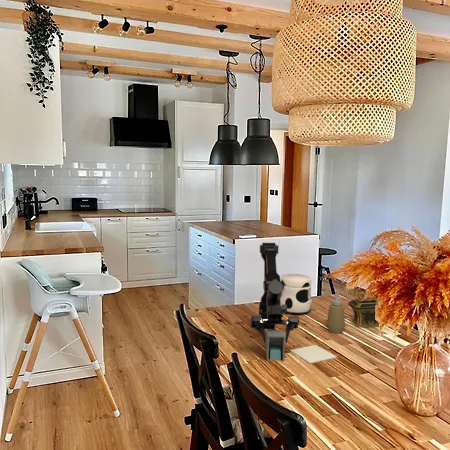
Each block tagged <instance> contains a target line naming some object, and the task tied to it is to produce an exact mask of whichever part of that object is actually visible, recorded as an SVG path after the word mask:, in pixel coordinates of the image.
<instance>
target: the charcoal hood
mask: <svg viewBox="0 0 450 450" xmlns="http://www.w3.org/2000/svg"><path fill="white" fill-rule="evenodd" d="M265 331H266V332H265V338H266V343H265V357H266V358H265V359H266V361H267V362H269V361H270V357H269V346H280V349H281V359H282V362H285V353H286V352H285V345H286V342H285V336H286V334H285V333H284V330H283V329H265Z"/></svg>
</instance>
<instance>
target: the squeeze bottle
mask: <svg viewBox="0 0 450 450" xmlns="http://www.w3.org/2000/svg"><path fill="white" fill-rule="evenodd" d="M345 318H346V316H345V305H343V300H341V298H340V293H339V292H335V296H334V299H332V300H331V304H330V305H329V307H328V314H327V319H326V320H327V321H326V325H327V327H328V328H327V329H328V331H329V332H330V333H333V334H341V333H343V331H344V328H345V326H346V319H345Z"/></svg>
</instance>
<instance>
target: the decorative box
mask: <svg viewBox="0 0 450 450" xmlns="http://www.w3.org/2000/svg"><path fill="white" fill-rule="evenodd" d="M358 291H359V290H358V289H357V287H356V288H355V287H354V289H353V290H346V291H345V293H347V294H348V295H350V296H351V297H354V298H355V299H352V300H349V301H348V306H349V307H350V309H352V311H353V318H352V320H351V321H350V322H351V323H352V324H353V325H354V326H355V325H356V326H355V327H357V328H359V327H363V328H380V327H379V323H378V322H377V321H376V320H375V305H376V301H375V300H373V299H364V296H365V294H366V293H365V292H364V291H359V292H358Z"/></svg>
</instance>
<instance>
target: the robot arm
mask: <svg viewBox="0 0 450 450" xmlns="http://www.w3.org/2000/svg"><path fill="white" fill-rule="evenodd" d="M259 254H260V257H261V259H263V263H264V265H263V266H264V267H263V283H262V286H263V287H262V288H263V290H264V291H263V294H262V296H261V298H260V301H259V303H258V315H252V316H251V317H250V328H251V329H255V330H256V331H258V332H259V334H260V337H261V338H262V341H263V343H264V344H266V332H265V331H266V330H276V325H282V326H283V325H285V344H287V343H288V339H289V336H290V333H291V331H294V330H295V329H298V328H299V324H300V318H299V317H298V316H294V315H293V316H292V315H290V316H288V318H287V319H283V317H284V315H283V314H287V304H282V306H281V302H280V298H281V295H282V290H283V289H284V285H283V284H282V281H281V276H280V274H279V273H278V272H277V259H276V258H277V255H279V245H278V244H276V242H262V244H260V245H259Z"/></svg>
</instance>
